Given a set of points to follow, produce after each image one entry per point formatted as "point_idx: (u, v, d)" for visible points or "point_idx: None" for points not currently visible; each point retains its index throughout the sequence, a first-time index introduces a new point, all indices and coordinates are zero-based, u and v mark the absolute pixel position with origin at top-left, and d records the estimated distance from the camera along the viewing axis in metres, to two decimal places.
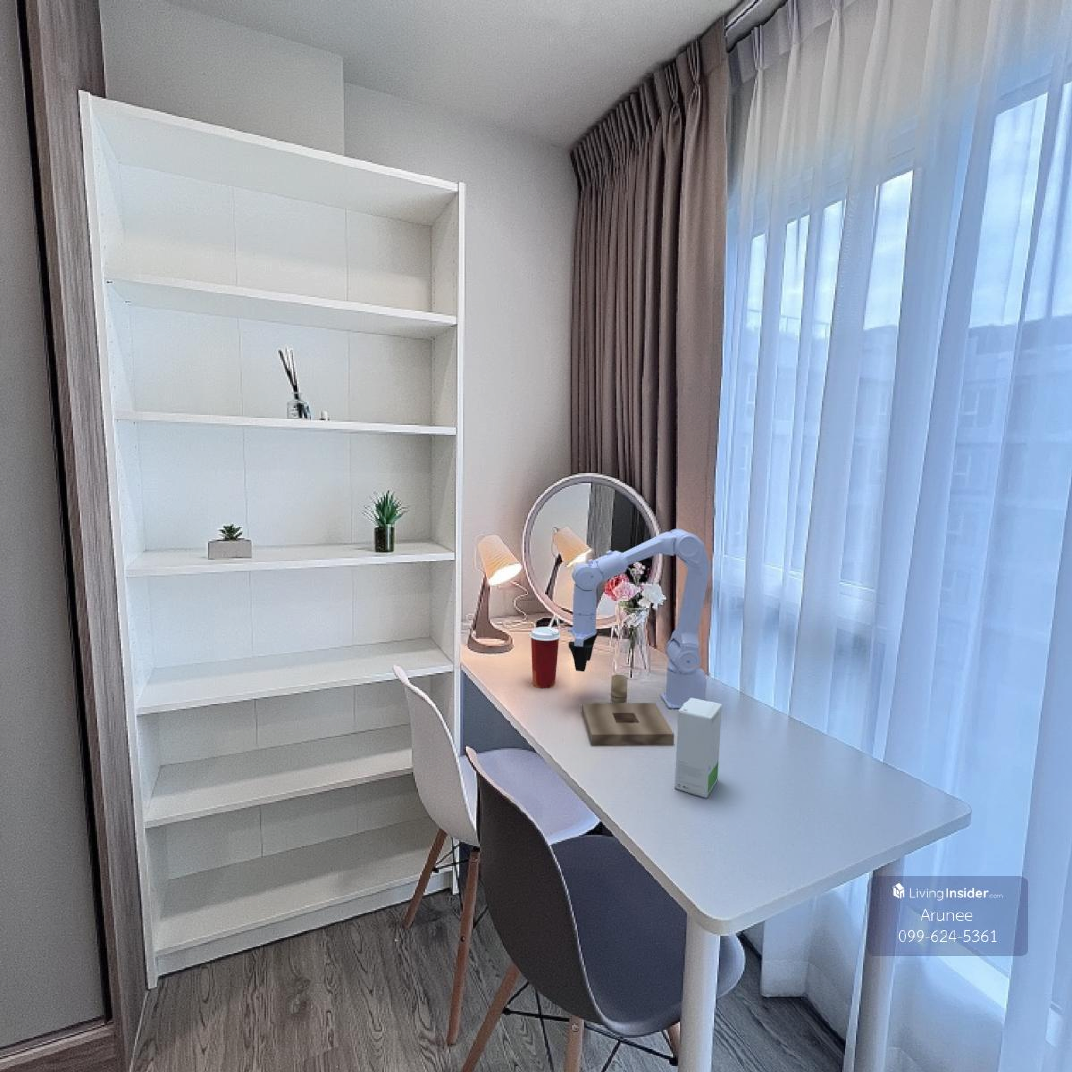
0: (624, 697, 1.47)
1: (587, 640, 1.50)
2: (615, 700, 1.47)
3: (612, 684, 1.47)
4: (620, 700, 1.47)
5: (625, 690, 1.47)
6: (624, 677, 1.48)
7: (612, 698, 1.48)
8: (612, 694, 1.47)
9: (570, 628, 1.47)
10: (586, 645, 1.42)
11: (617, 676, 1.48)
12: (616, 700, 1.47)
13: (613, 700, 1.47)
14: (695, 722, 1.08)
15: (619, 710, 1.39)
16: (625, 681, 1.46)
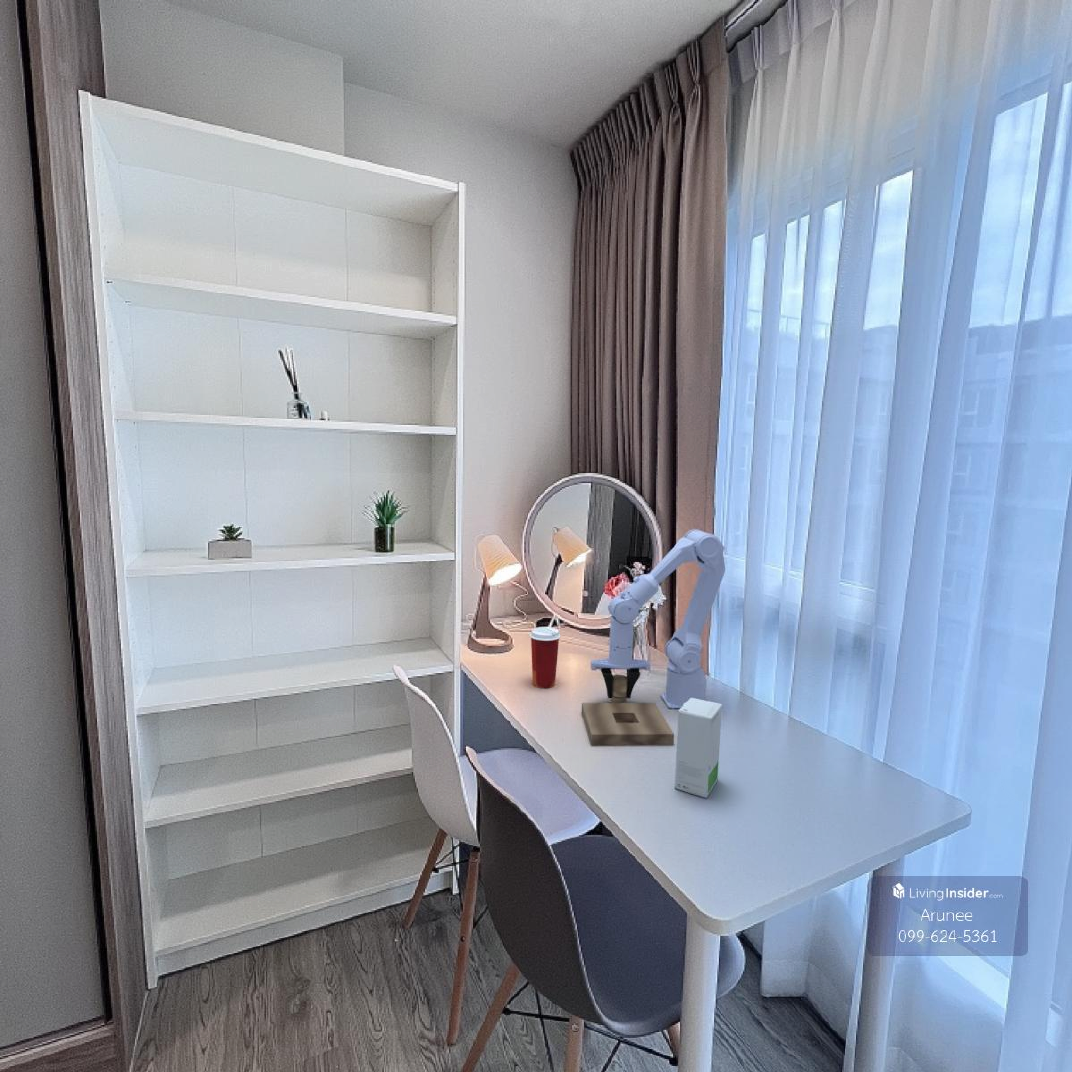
0: (624, 697, 1.47)
1: (628, 677, 1.48)
2: (615, 700, 1.47)
3: (612, 684, 1.47)
4: (620, 700, 1.47)
5: (625, 690, 1.47)
6: (624, 677, 1.48)
7: (612, 698, 1.48)
8: (612, 694, 1.47)
9: None
10: (607, 672, 1.46)
11: (617, 676, 1.48)
12: (616, 700, 1.47)
13: (613, 700, 1.47)
14: (695, 722, 1.08)
15: (619, 710, 1.39)
16: (625, 681, 1.46)
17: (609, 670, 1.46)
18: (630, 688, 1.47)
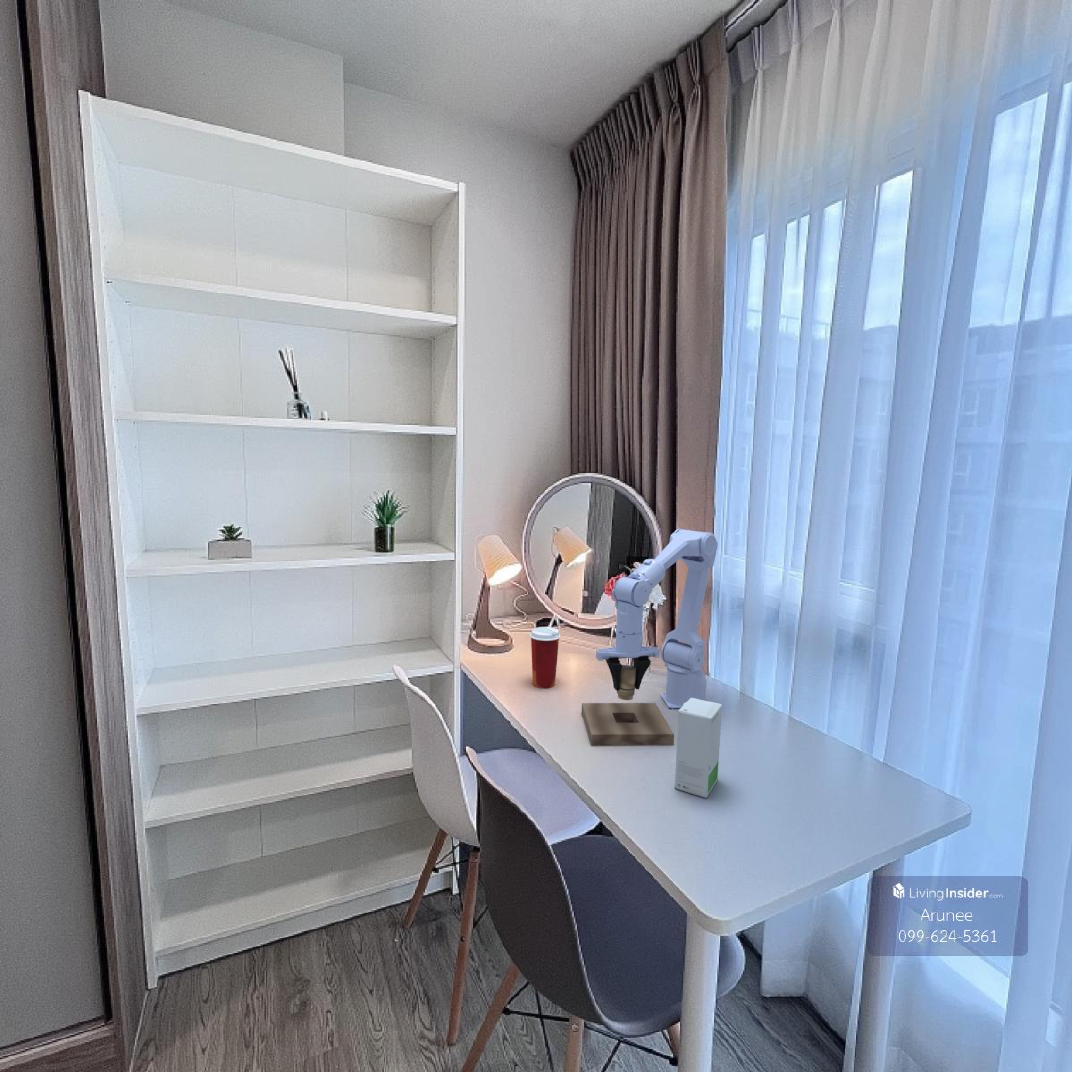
0: (633, 689, 1.34)
1: (637, 666, 1.34)
2: (623, 692, 1.33)
3: (620, 675, 1.34)
4: (629, 692, 1.33)
5: (634, 681, 1.34)
6: (632, 667, 1.35)
7: (619, 690, 1.34)
8: None
9: None
10: (615, 662, 1.32)
11: (625, 667, 1.35)
12: (624, 692, 1.33)
13: (621, 693, 1.34)
14: (695, 722, 1.08)
15: (619, 710, 1.39)
16: (634, 671, 1.33)
17: (617, 659, 1.32)
18: (640, 678, 1.33)
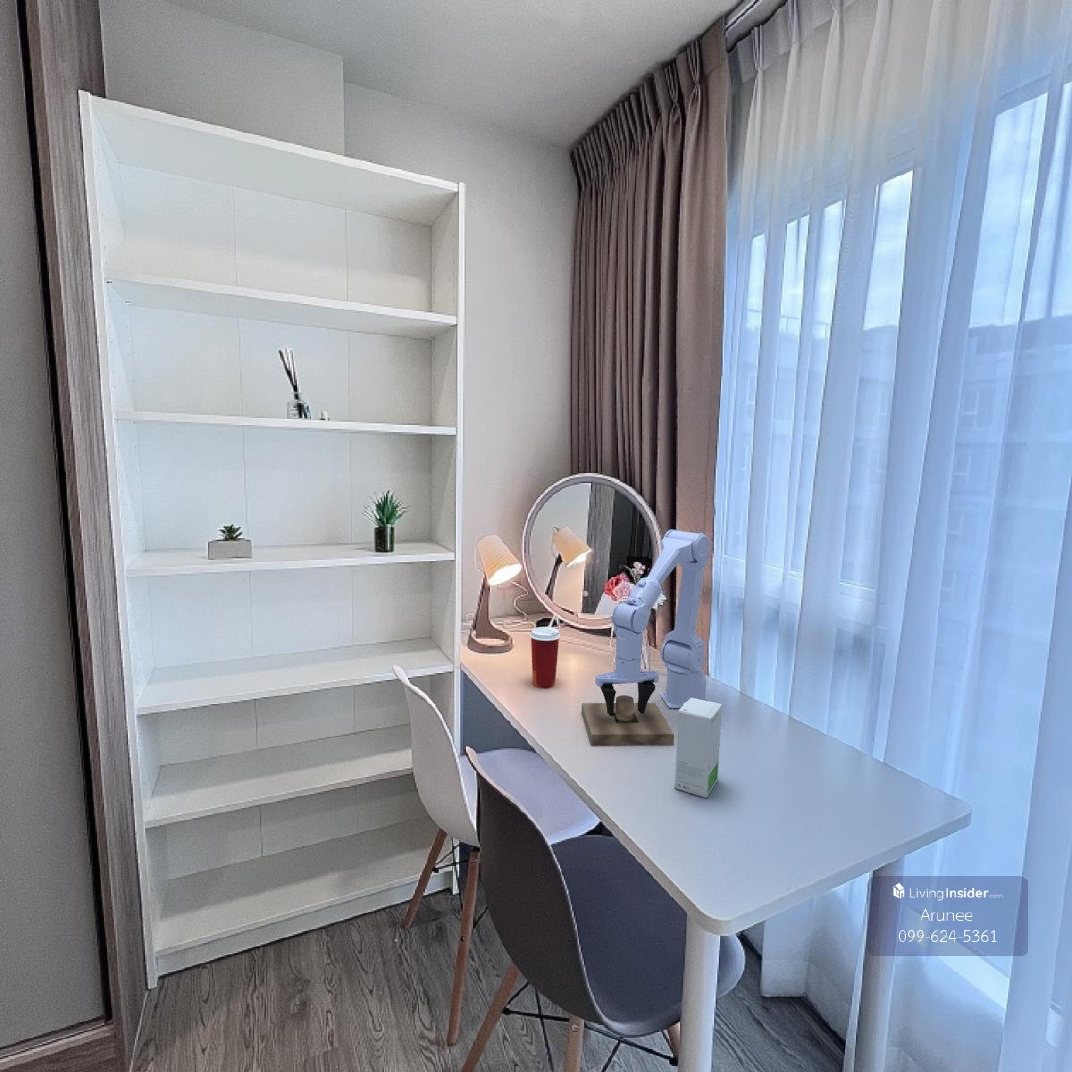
0: (631, 720, 1.34)
1: (641, 690, 1.35)
2: None
3: (618, 707, 1.34)
4: None
5: (632, 712, 1.34)
6: (629, 698, 1.35)
7: (618, 722, 1.34)
8: (618, 718, 1.34)
9: None
10: (609, 688, 1.32)
11: (622, 698, 1.35)
12: None
13: None
14: (695, 722, 1.08)
15: None
16: (632, 702, 1.34)
17: (611, 685, 1.33)
18: (644, 703, 1.34)
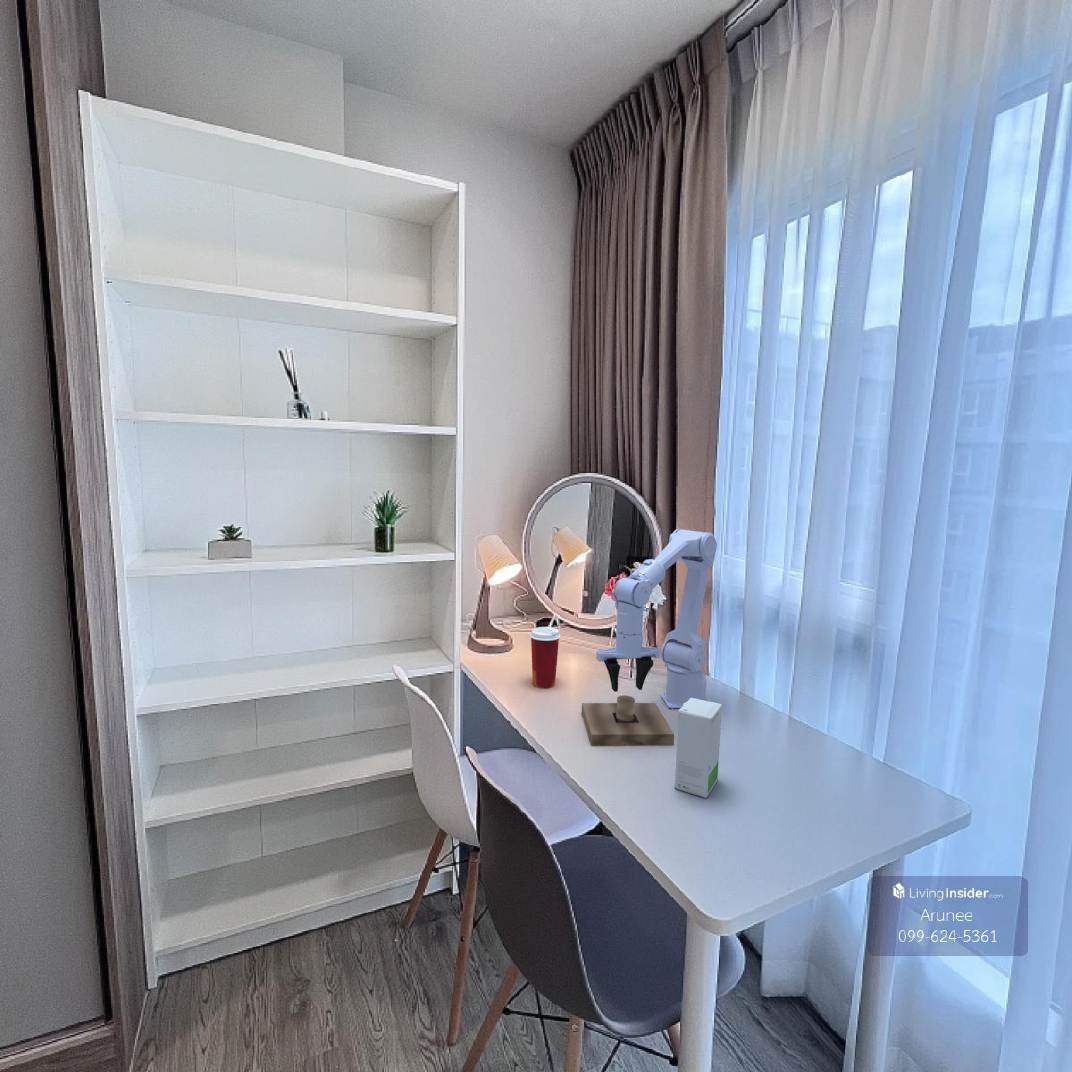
0: (632, 720, 1.34)
1: (639, 666, 1.34)
2: None
3: (618, 707, 1.34)
4: None
5: (633, 712, 1.34)
6: (631, 698, 1.35)
7: (619, 722, 1.34)
8: (619, 718, 1.34)
9: None
10: (613, 663, 1.31)
11: (623, 698, 1.35)
12: None
13: None
14: (695, 722, 1.08)
15: None
16: (633, 703, 1.34)
17: (615, 660, 1.32)
18: (642, 678, 1.33)
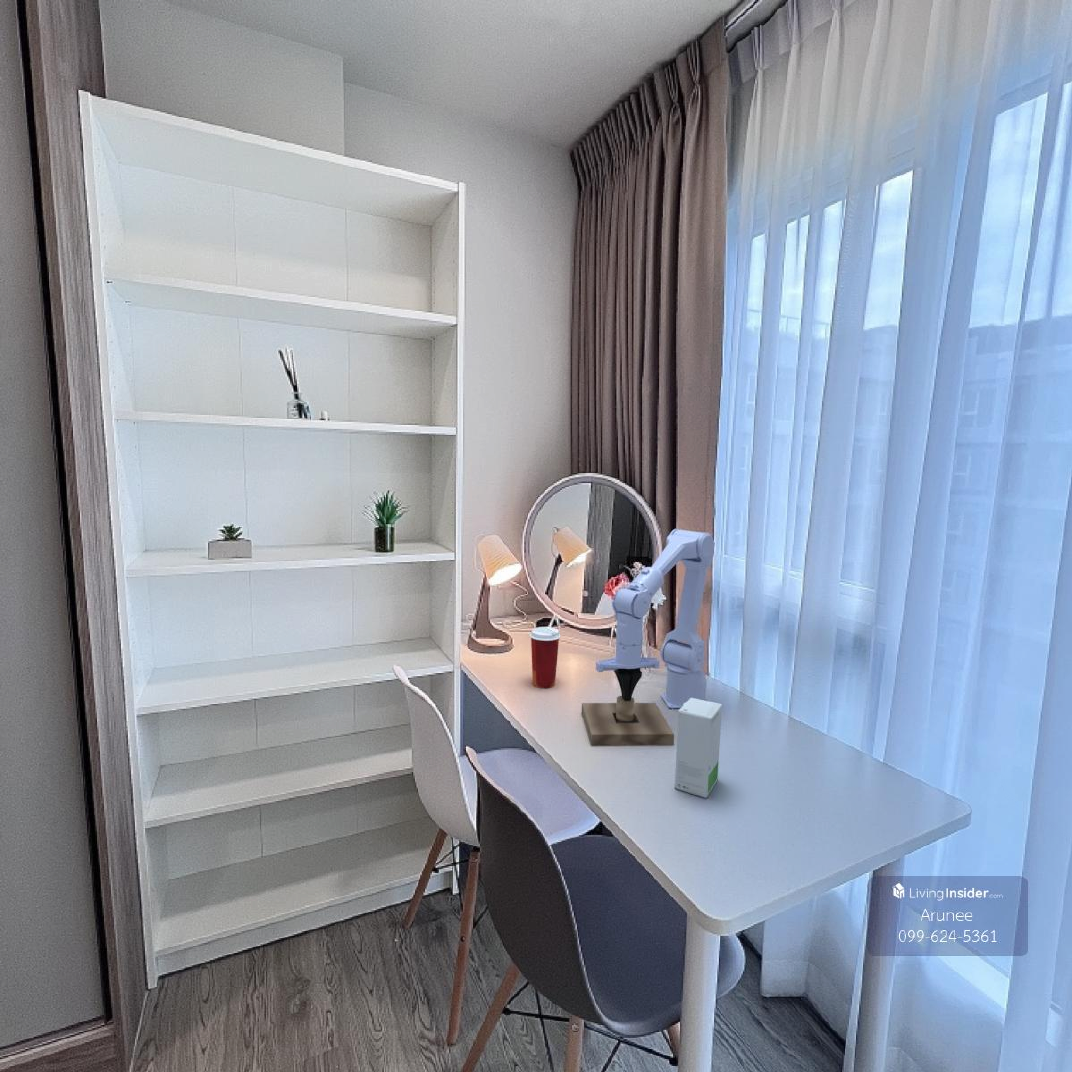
0: (632, 720, 1.34)
1: None
2: None
3: (618, 707, 1.34)
4: None
5: (632, 712, 1.34)
6: None
7: (618, 722, 1.34)
8: (618, 718, 1.34)
9: None
10: (624, 673, 1.32)
11: None
12: None
13: None
14: (695, 722, 1.08)
15: None
16: (632, 703, 1.34)
17: (626, 670, 1.33)
18: (631, 690, 1.33)
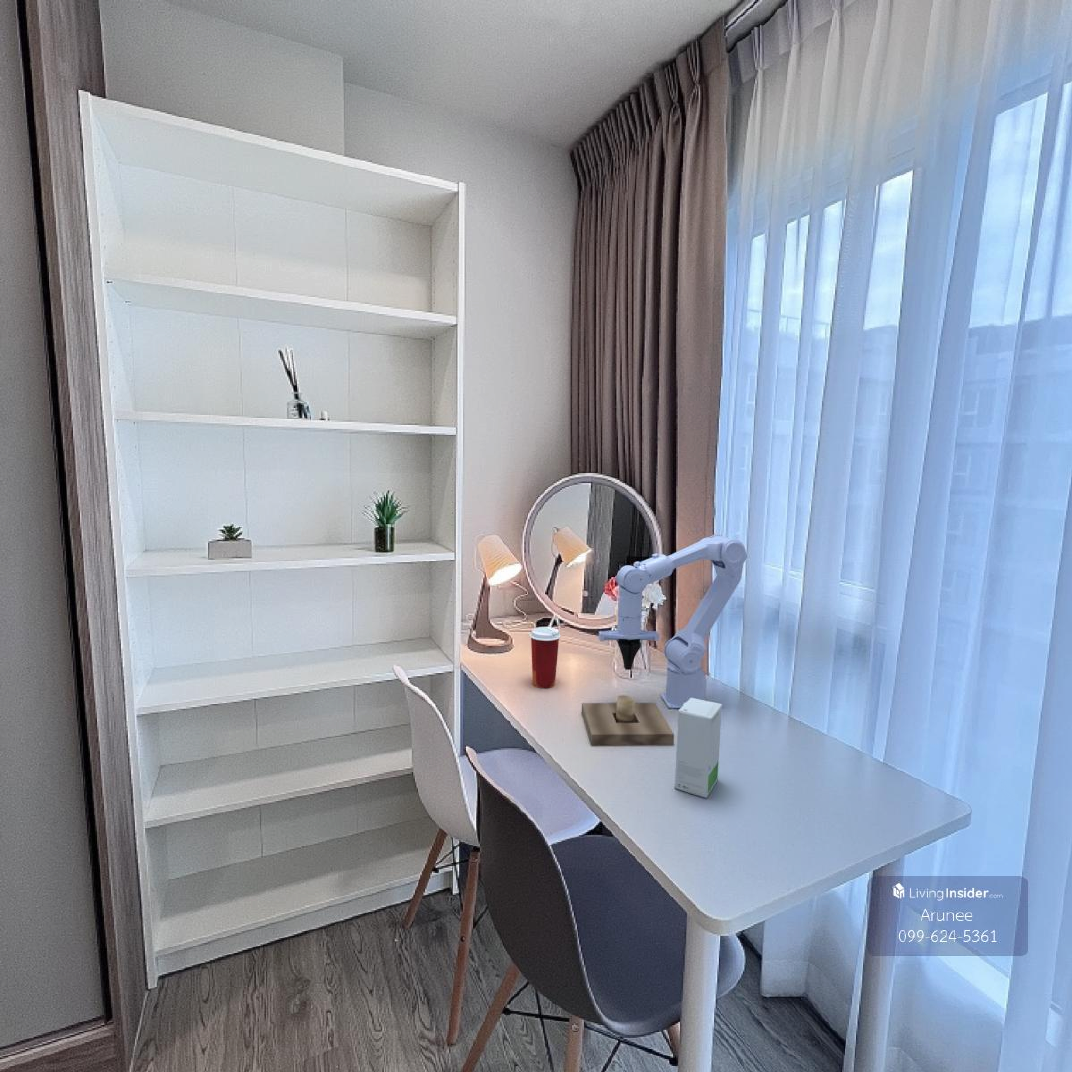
0: (632, 720, 1.34)
1: None
2: None
3: (618, 707, 1.34)
4: None
5: (632, 712, 1.34)
6: (630, 698, 1.35)
7: (618, 722, 1.34)
8: (618, 718, 1.34)
9: None
10: (624, 643, 1.44)
11: (623, 698, 1.35)
12: None
13: None
14: (695, 722, 1.08)
15: None
16: (633, 703, 1.34)
17: (626, 641, 1.44)
18: (631, 659, 1.44)
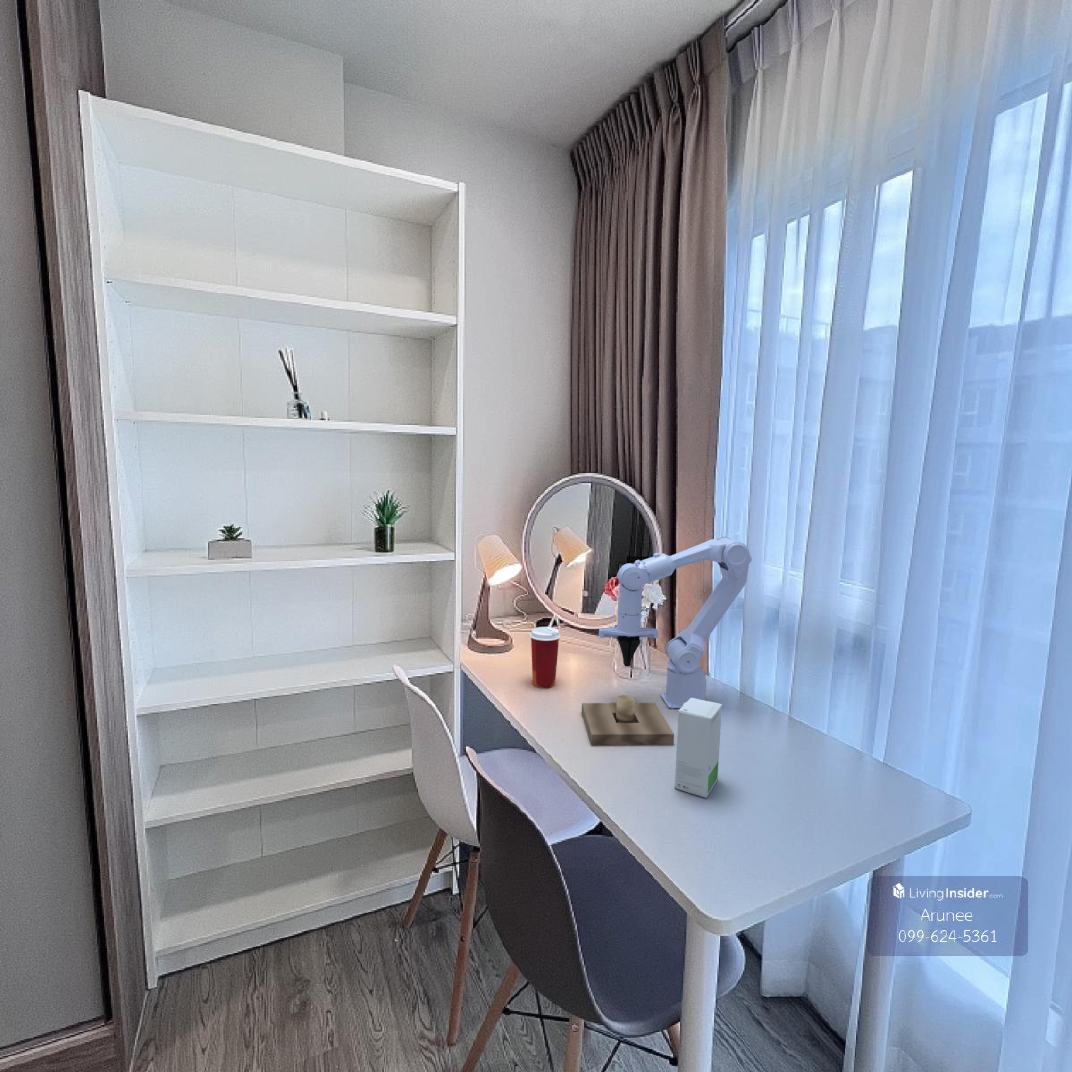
0: (632, 720, 1.34)
1: (628, 645, 1.47)
2: None
3: (618, 707, 1.34)
4: None
5: (632, 712, 1.34)
6: (630, 698, 1.35)
7: (618, 722, 1.34)
8: (618, 718, 1.34)
9: None
10: (624, 640, 1.46)
11: (623, 698, 1.35)
12: None
13: None
14: (695, 722, 1.08)
15: None
16: (633, 703, 1.34)
17: (626, 638, 1.46)
18: (630, 656, 1.47)
